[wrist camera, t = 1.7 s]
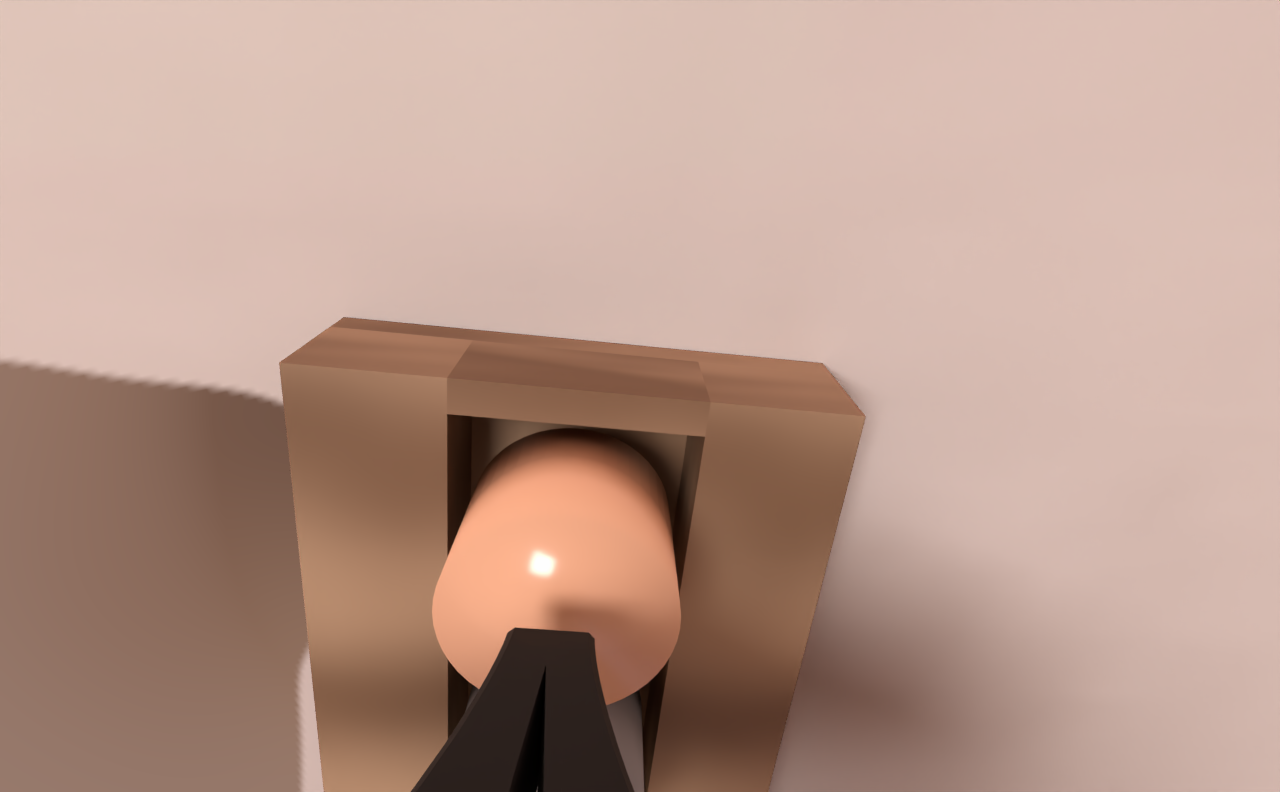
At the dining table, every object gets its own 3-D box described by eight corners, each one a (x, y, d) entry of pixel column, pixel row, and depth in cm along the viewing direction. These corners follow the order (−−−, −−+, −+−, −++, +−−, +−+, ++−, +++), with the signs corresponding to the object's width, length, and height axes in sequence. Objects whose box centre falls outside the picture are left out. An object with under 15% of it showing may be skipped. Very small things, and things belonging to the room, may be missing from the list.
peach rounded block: (656, 602, 17) (665, 719, 13) (471, 589, 16) (432, 705, 13) (681, 437, 15) (697, 525, 12) (473, 419, 15) (430, 504, 11)
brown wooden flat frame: (711, 852, 24) (724, 957, 21) (376, 836, 23) (339, 942, 20) (822, 363, 17) (865, 416, 14) (344, 317, 16) (278, 362, 13)
